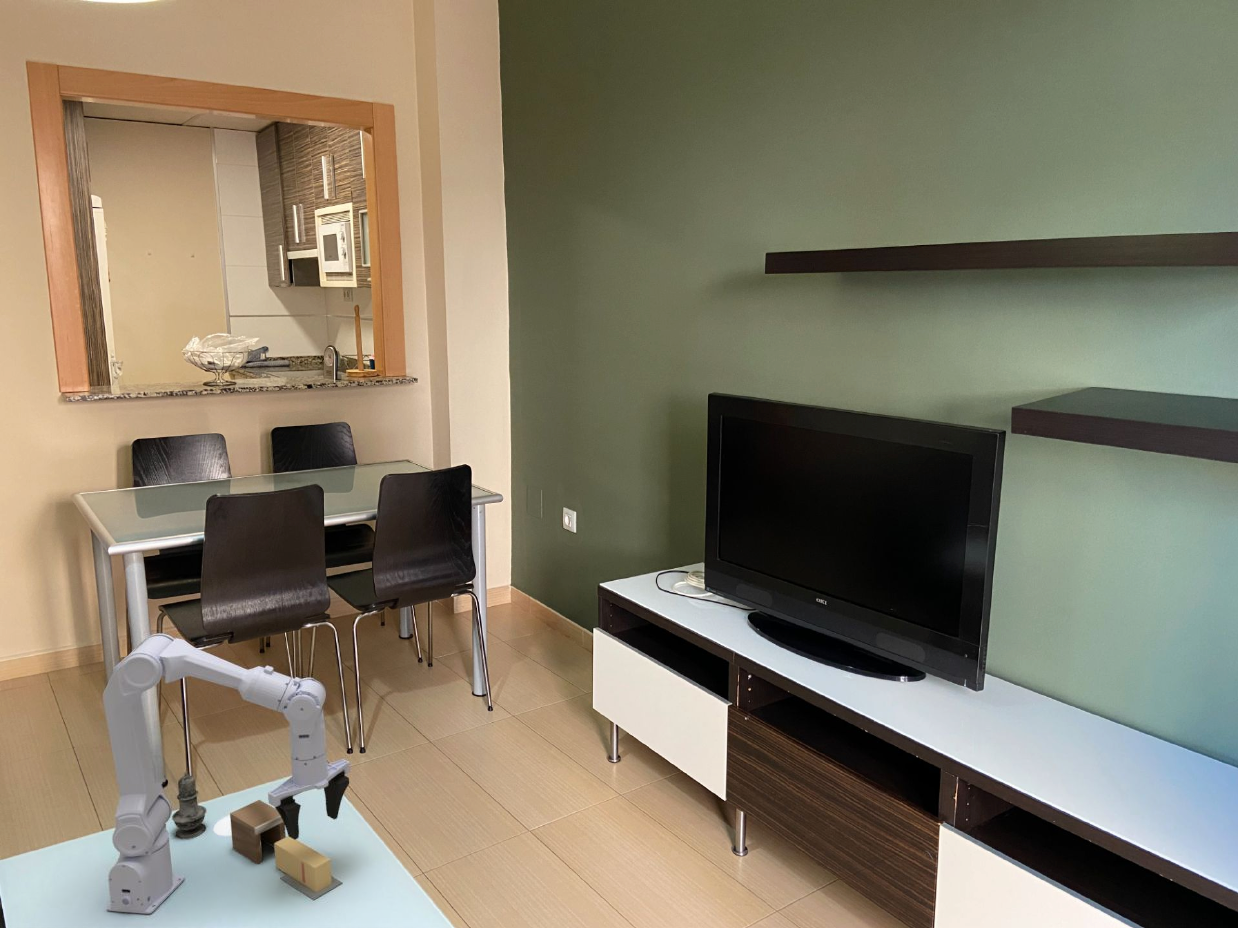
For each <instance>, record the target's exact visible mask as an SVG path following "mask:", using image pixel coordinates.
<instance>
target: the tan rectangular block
mask: <svg viewBox="0 0 1238 928" xmlns="http://www.w3.org/2000/svg"><path fill="white" fill-rule="evenodd" d="M273 848H274V856H275V859H274V860H275V867H276V868H277V869H279V870H280V871H282V872H283V873H285V875H286V874H288V875H290V876H291V877H293V878H294V879H296V880H298V881H299V882H301V883H302V884H304V885H305V886H307V887H309V888H310V889H312V890H313V891H315V892H318V891H320V890H322V889H323V888H325V887H327V886H328V885H330V884H332V880H331V876H332V866H331V865H332V864H331V859H330V858H329V857H327V856H325V855H323V854H322V853H320V852H318V851H317V850H315V849H313V848H312V847H310V846H308V845H306V844H305V843H303V842H301V841H300V840H297V839H295V840H294V839H292V838H291V837H289V836H288V835H287V836H286V838H284V839H282V840H280V841H278V842H276V843H274V847H273Z"/></svg>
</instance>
